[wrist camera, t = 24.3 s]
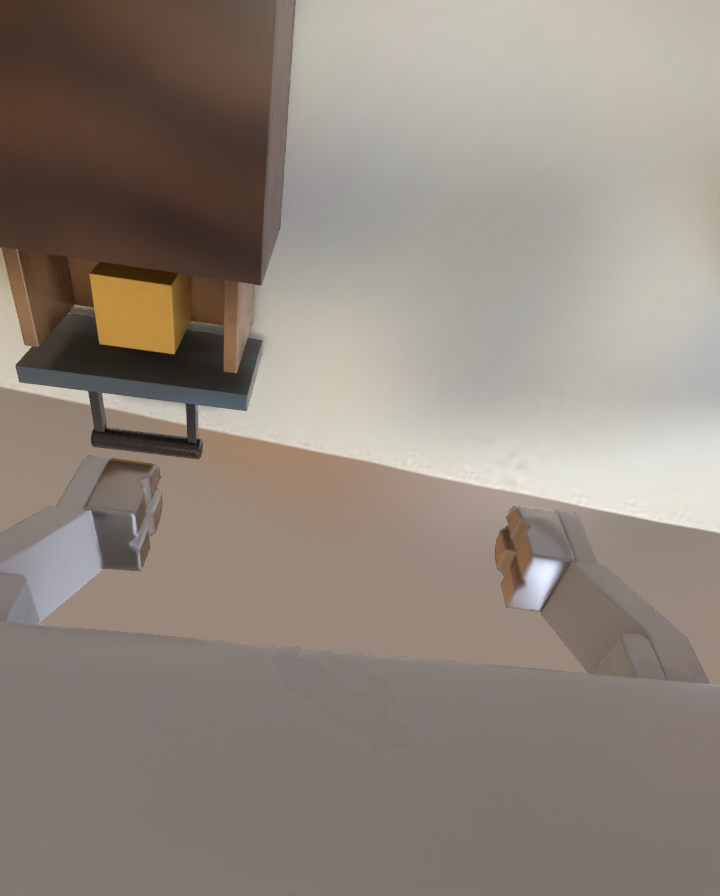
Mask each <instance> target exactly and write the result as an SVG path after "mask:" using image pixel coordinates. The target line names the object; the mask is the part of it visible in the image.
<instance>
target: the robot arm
mask: <svg viewBox="0 0 720 896" xmlns="http://www.w3.org/2000/svg"><path fill="white" fill-rule="evenodd" d="M160 478H161V477H160V468H159V466H158V465H157V464H151V463H144V462H136V461H129V460H122V459H115V458H112V459H111V458H103V457H97V456H90V455H89V456H87V457H86V458H84V459H83V461H82V462H81V464H80V466H79V467H78V469H77V471H76V473H75V474H74V476H73V478H72V480H71V481H70V483H69V485H68V487H67V488H66V490H65V492H64V493H63V495H62V497H61V499H60V500H59V502H58V504H57V505H56V506H48V507H46V508H44V509H42V510H41V511H39V512H37V513H36V514H34V515H32V516H30V517H28V518H27V519H25V520H23V521H21V522H19V523H18V524H16V525H14V526H12V527H11V528H9V529H7V530H5V531H3V532H2V533H0V896H720V685H713V684H710V683H709V681H708V679H707V677H706V675H705V673H704V671H703V668H702V667H701V664H700V662H699V660H698V658H697V656H696V654H695V652H694V650H693V648H692V646H691V644H690V642H689V640H688V638H687V637H686V636H685V635H684V634H683V633H681V632H680V631H679V630H678V629H677V628H676V627H675V626H673V625H672V624H671V623H670V622H669V621H668V620H667V619H665V618H664V617H663V616H662V615H661V614H660V613H659V612H657V611H656V610H655V609H654V608H653V607H652V606H651V605H649V604H648V603H647V602H646V601H645V600H644V599H642V598H641V597H640V596H639V595H638V594H637V593H636V592H634V591H633V590H632V589H631V588H630V587H629V586H628V585H627V584H625V583H624V582H623V581H622V580H621V579H620V578H619V577H617V576H616V575H615V574H614V573H613V572H612V571H611V570H609V569H608V568H607V567H606V566H602V565H599V563H598V561H597V558H596V556H595V553H594V551H593V548H592V546H591V544H590V541H589V539H588V536H587V534H586V531H585V529H584V526H583V524H582V522H581V519H580V517H579V515H578V514H577V513H576V512H569V511H559V510H547V509H538V508H529V507H520V506H513V507H512V508H511V509H510V511H509V513H508V515H507V517H506V518H507V522H508V526H506V527H505V528H503V529H502V530H500V533H499V535H498V538H497V540H496V547H495V560H496V565H497V569H498V570H499V571H500V572H501V573H502V574H503V575H504V578H503V580H502V583H501V587H502V591H503V596H504V600H505V604H506V607H507V608H514V609H522V610H530V611H537V612H541V615H542V616H543V617H544V618H545V620H546V621H547V622H548V623H549V625H550V626H551V627H552V629H553V630H554V631H555V632H556V634H557V635H558V636H559V637H560V638H561V640H562V641H563V642H564V643H565V645H566V646H567V647H568V649H569V650H570V651H571V652H572V654H573V655H574V656H575V657H576V659H577V660H578V661H579V662H580V664H581V665H582V666H583V667H584V669H585V670H586V671H587V672H588V673H579V672H566V671H556V670H545V669H534V668H523V667H511V666H501V665H489V664H477V663H466V662H456V661H445V660H433V659H421V658H411V657H400V656H388V655H377V654H366V653H354V652H344V651H332V650H321V649H309V648H298V647H287V646H276V645H265V644H253V643H242V642H231V641H219V640H208V639H197V638H186V637H175V636H164V635H153V634H141V633H129V632H118V631H107V630H95V629H84V628H74V627H62V626H51V625H41V623H40V622H41V621H42V620H43V619H44V618H46V617H47V616H48V615H49V614H51V613H52V612H53V611H54V610H55V609H57V608H58V607H59V606H60V605H61V604H62V603H64V602H65V601H66V600H67V599H68V598H70V597H71V596H72V595H73V594H74V593H75V592H77V591H78V590H79V589H80V588H81V587H83V586H84V585H85V584H86V583H87V582H89V581H90V580H91V579H92V578H93V577H94V576H96V575H97V574H98V573H99V572H100V571H101V568H103V569H116V570H130V571H142V568H143V566H144V563H145V560H146V558H147V555H148V552H149V550H150V541H149V537H150V536H152V535H153V534H154V533H156V530H157V527H158V524H159V521H160V516H161V511H162V492H161V491H160V490H159V489H158V488H157V485H158V483H159V480H160Z"/></svg>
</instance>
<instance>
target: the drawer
mask: <svg viewBox="0 0 720 896" xmlns="http://www.w3.org/2000/svg"><path fill="white" fill-rule="evenodd" d="M2 251H3V255H4V259H5V264H6V268H7V272H8V276H9V281H10V285H11V289H12V293H13V297H14V302H15V306H16V310H17V314H18V319H19V323H20V327H21V331H22V336H23V340H24V344H25V345H27V346H32V347H31V348H30V349H29V351H28V352H27V353H26V354H25V355H24V356H23V357H22V358H21V360H20V361H19V362H18V363H17V364H16V370H17V374H18V378H19V382H22V383H30V384H38V385H45V386H53V387H61V388H69V389H77V390H85V391H88V392H89V398H90V404H91V410H92V415H93V422H94V429H93V431H92V436H91V443H92V446H93V447H99V448H108V449H116V450H124V451H132V452H141V453H150V454H159V455H166V456H176V457H183V458H193V459H200V457H201V454H202V447H203V442H202V439H198V405H203V406H211V407H219V408H227V409H235V410H243V411H247V409H248V405H249V401H250V397H251V394H252V390H253V386H254V382H255V378H256V375H257V371H258V367H259V363H260V360H261V356H262V342H263V341H262V340H257V339H249V338H248V336H249V333H250V330H251V326H252V323H253V300H254V284H248V283H242V282H235V281H228V280H221V279H214V278H208V277H201V276H194V275H190V287H191V321H198V322H205V323H212V324H219V325H224V335H221V334H213V333H206V332H199V331H192V330H186V332H185V334H184V336H183V338H182V340H181V342H180V344H179V346H178V348H177V351H176V353H175V354H169V353H161V352H154V351H147V350H139V349H132V348H125V347H117V346H110V345H103V344H99V339H98V332H97V325H96V318H95V317H90V316H83V315H76V314H69V313H68V312H69V311H70V310H71V309H72V308H73V306H74V305H75V304H76V305H84V306H91V307H94V304H93V297H92V290H91V283H90V276H89V273H90V272H91V271H92V270H93V269H94V268H95V267H96V265H97V264H98V263H99V261H92V260H85V259H79V258H72V257H65V256H58V255H51V254H45V253H38V252H31V251H24V250H17V249H11V248H4V247H2ZM102 393H109V394H117V395H124V396H132V397H140V398H148V399H156V400H164V401H172V402H180V403H186V414H187V437H181V436H173V435H165V434H157V433H148V432H140V431H132V430H123V429H115V428H107V425H106V418H105V411H104V404H103V398H102Z"/></svg>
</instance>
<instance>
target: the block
mask: <svg viewBox="0 0 720 896" xmlns="http://www.w3.org/2000/svg"><path fill="white" fill-rule="evenodd" d="M89 276H90V283H91V290H92V297H93V304H94V311H95V318H96V325H97V332H98V339H99V344H103V345H110V346H117V347H125V348H132V349H139V350H147V351H154V352H161V353H169V354H175V353H176V351H177V348H178V346H179V344H180V342H181V340H182V338H183V336H184V334H185V332H186V330H187V328H188V326H189V324H190V322H191V287H190V275H187V274H180V273H174V272H167V271H160V270H153V269H146V268H140V267H133V266H126V265H119V264H112V263H106V262H99V263H98V264H97V265H96V267H95V268H94V269H93V270H92V271H91V272H90V273H89Z"/></svg>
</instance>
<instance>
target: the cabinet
mask: <svg viewBox="0 0 720 896" xmlns="http://www.w3.org/2000/svg"><path fill="white" fill-rule="evenodd" d="M295 1H296V0H0V247H4V248H11V249H17V250H24V251H31V252H38V253H45V254H51V255H58V256H65V257H72V258H79V259H85V260H92V261H99V262H106V263H112V264H119V265H126V266H133V267H140V268H146V269H153V270H160V271H167V272H174V273H180V274H187V275H194V276H201V277H208V278H214V279H221V280H228V281H235V282H242V283H248V284H255V285H262V282H263V279H264V276H265V273H266V270H267V267H268V264H269V261H270V258H271V254H272V251H273V248H274V245H275V242H276V239H277V236H278V233H279V229H280V222H281V208H282V193H283V178H284V163H285V149H286V134H287V119H288V104H289V90H290V75H291V60H292V45H293V31H294V16H295Z"/></svg>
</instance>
